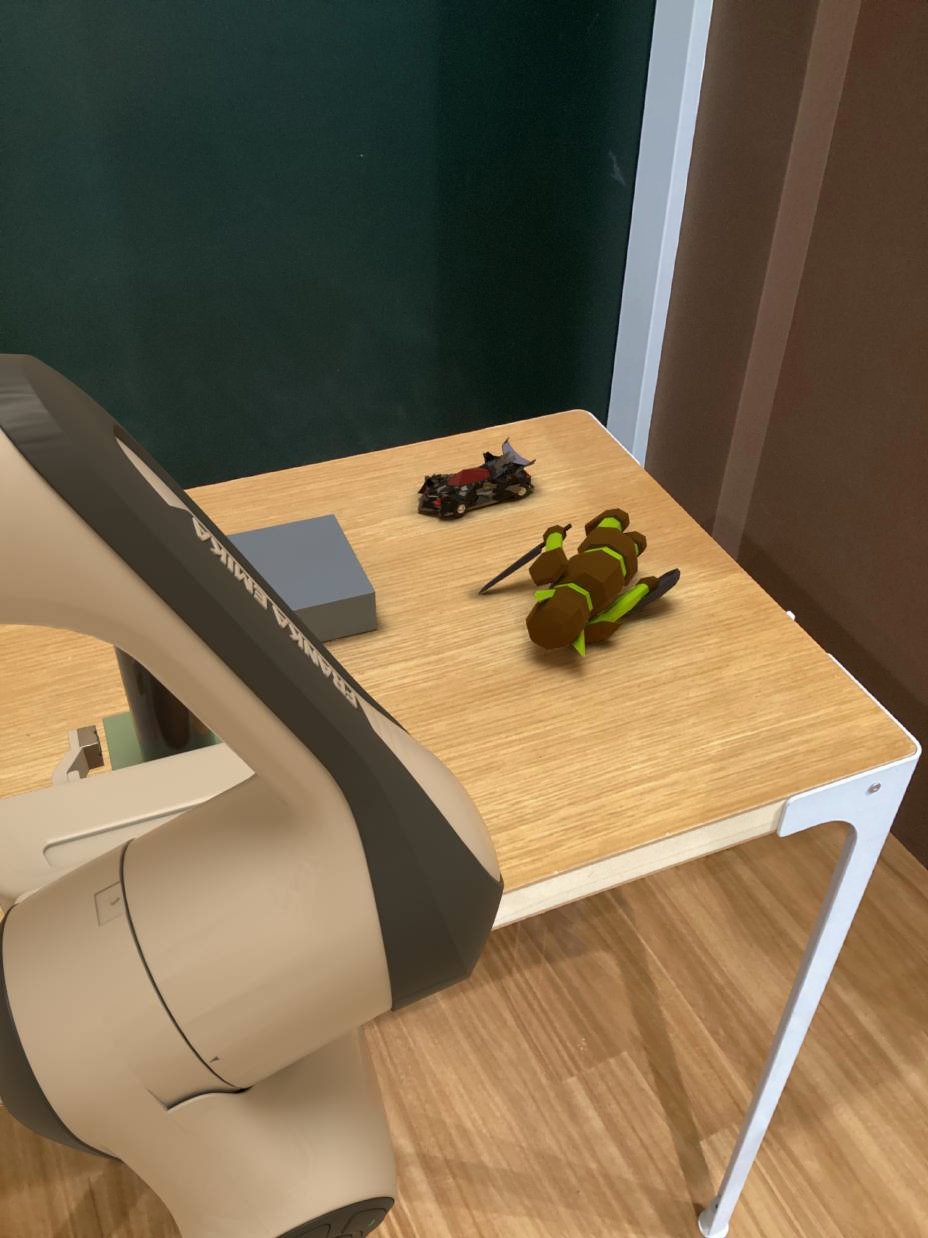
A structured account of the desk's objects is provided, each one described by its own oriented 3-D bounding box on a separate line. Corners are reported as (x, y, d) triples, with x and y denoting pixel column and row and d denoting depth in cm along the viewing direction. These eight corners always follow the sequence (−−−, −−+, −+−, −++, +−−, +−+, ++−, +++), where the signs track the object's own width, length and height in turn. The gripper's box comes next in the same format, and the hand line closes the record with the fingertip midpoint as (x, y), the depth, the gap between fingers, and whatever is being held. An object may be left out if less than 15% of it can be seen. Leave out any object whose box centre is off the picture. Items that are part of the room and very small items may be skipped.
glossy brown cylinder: (148, 786, 62) (115, 658, 56) (136, 735, 65) (104, 608, 59) (223, 766, 64) (199, 639, 57) (208, 717, 67) (184, 591, 60)
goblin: (498, 546, 98) (437, 629, 87) (618, 469, 90) (569, 549, 78) (566, 630, 101) (515, 722, 89) (689, 562, 92) (651, 654, 80)
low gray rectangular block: (234, 663, 85) (227, 624, 83) (204, 577, 94) (198, 540, 91) (377, 629, 89) (375, 591, 86) (336, 549, 97) (333, 513, 95)
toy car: (540, 496, 105) (543, 460, 102) (432, 529, 100) (432, 492, 98) (508, 467, 109) (510, 432, 106) (403, 497, 104) (402, 461, 102)
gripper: (429, 806, 51) (346, 630, 61) (-26, 937, 45) (-37, 718, 55) (429, 886, 55) (351, 709, 65) (11, 1016, 49) (-5, 800, 59)
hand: (170, 714), depth 60 cm, fingers open, 8 cm apart
